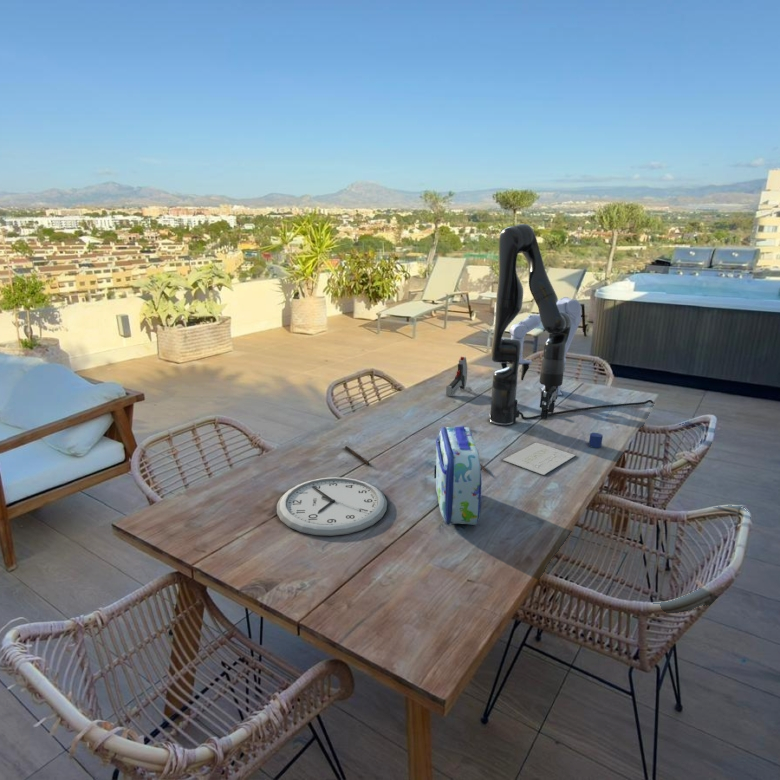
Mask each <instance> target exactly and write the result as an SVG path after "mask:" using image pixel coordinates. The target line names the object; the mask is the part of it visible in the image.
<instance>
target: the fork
mask: <svg viewBox="0 0 780 780" xmlns="http://www.w3.org/2000/svg"><path fill="white" fill-rule="evenodd" d="M480 467H481V471H483V472H485V473H486V474H488V470H486V468H485V467H484V466H483V464H482V463H480Z"/></svg>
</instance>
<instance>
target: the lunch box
mask: <svg viewBox="0 0 780 780" xmlns="http://www.w3.org/2000/svg"><path fill="white" fill-rule="evenodd" d="M435 444H436V448H435V449H436V452H435V454H436V456H435V463H436V464H434V474H433V475H434V479H435V491H436V495H437V502H438V508H439V511H440V515H441V517H442V519H443V521H444V523H445V524H446V525H448V526H449V525H454V524H456V525H457V524H459V525H460V524H461V525H470V526H471V525H473V526H474V525H475V526H476V525H477V524H478V523H479V520H480V516H481V515H480V514H481V503H482V469H481V467H480V464H481V463H480V455H479V450H478V448H477V446H476V443H475V441H474V437H473V433H472V430H471V428H470V427H469V426H468V427H465V426H463V425H462V426H461V425H460V426H454V427H453V426H452V427H450V426H449V427H445V426H442V427H440V431H439V432H438V437H437V438H436V440H435Z"/></svg>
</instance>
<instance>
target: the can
mask: <svg viewBox="0 0 780 780" xmlns="http://www.w3.org/2000/svg"><path fill="white" fill-rule="evenodd" d="M602 444H603V434H602V433H600V432H591V433H590V434H589V440H588V446H589V447H591V448H594V449H599V448H602Z"/></svg>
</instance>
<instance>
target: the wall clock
mask: <svg viewBox="0 0 780 780" xmlns="http://www.w3.org/2000/svg"><path fill="white" fill-rule="evenodd" d="M387 509H388V500H387V498H386V496H385V494H384V493H383V492H382V491H381V490H380V489H379V488H377V487H376V486H374V485H372V484H371V483H369V482H365V481H362V480H359V479H355V478H349V477H338V476H337V477H335V476H333V477H332V476H331V477H322V478H317V479H312V480H307V481H305V482H302V483H299V484H297V485H295V486H293V487H292V488H290V489H288V490H287V491H286V492H285V493H284V494H283V495H281V496H280V498H279V499H278V502H277V503H276V515H277V517H278V518H279V520H280V521H281V522H282V523H283V524H285V525H286V526H287V527H288V528H290V529H293V530H295V531H297V532H299V533H303V534H308V535H312V536H327V537H328V536H329V537H331V536H332V537H333V536H342V535H350V534H352V533H356V532H361V531H363V530H366V529H368V528H369V527H372V526H373V525H375V524H376V523H378V522H379V521H380V520H381V519H382V518H383V517H384V516H385V514H386V512H387Z"/></svg>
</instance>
